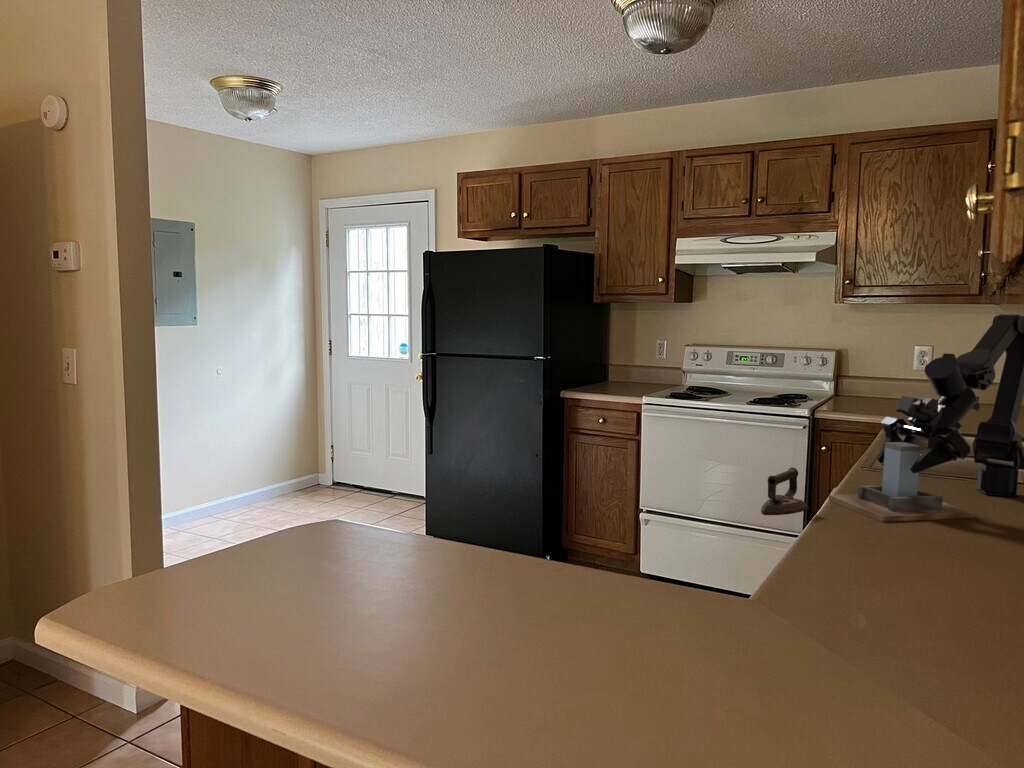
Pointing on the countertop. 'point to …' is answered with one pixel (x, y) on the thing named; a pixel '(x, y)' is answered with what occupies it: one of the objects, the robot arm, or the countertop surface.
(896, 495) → the block
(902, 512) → the jig cradle
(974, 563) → the countertop surface
